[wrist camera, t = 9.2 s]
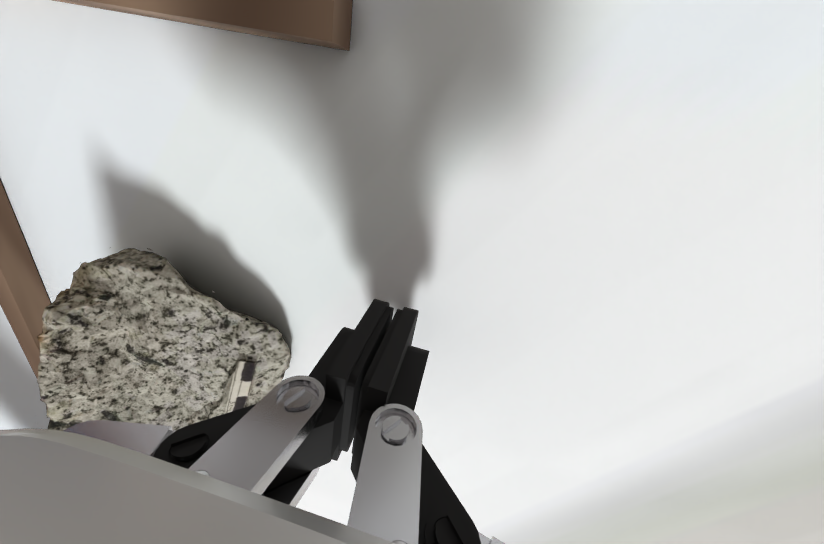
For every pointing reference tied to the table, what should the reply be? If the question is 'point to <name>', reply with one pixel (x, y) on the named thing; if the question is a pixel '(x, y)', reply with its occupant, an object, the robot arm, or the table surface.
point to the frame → (189, 3)
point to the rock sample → (150, 348)
